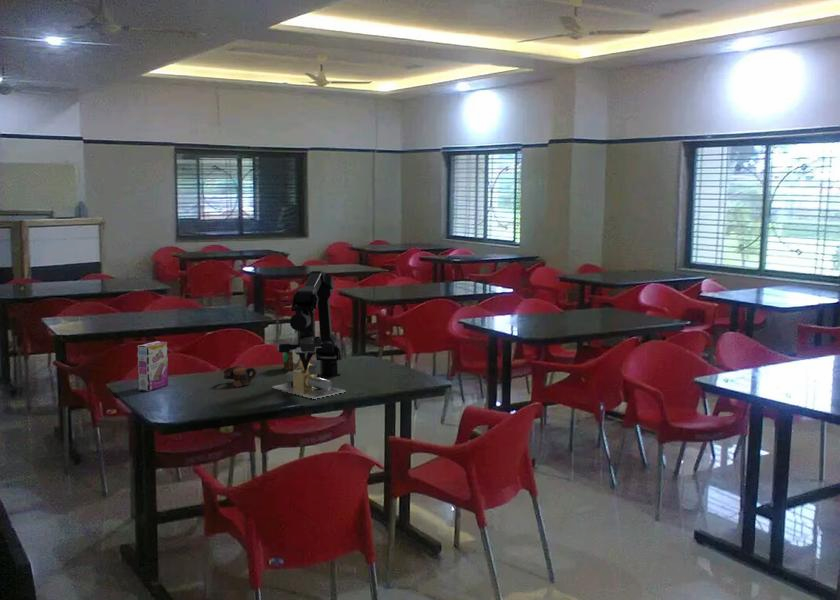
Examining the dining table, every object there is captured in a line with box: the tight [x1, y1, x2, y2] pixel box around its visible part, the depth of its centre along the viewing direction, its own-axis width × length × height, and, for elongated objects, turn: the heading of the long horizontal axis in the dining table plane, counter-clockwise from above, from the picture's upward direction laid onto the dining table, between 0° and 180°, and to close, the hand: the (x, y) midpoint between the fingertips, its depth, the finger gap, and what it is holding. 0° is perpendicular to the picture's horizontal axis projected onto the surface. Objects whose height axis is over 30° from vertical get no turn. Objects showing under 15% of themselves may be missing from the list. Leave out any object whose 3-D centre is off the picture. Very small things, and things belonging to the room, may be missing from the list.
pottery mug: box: [223, 364, 258, 388], centre depth 313 cm, size 12×10×8 cm
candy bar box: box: [136, 341, 169, 392], centre depth 307 cm, size 11×5×16 cm, turn 159°
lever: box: [299, 360, 318, 375], centre depth 298 cm, size 15×4×3 cm, turn 22°
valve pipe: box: [272, 368, 346, 400], centre depth 302 cm, size 24×14×8 cm, turn 46°
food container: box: [282, 341, 301, 372], centre depth 339 cm, size 12×6×10 cm, turn 172°
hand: (305, 371), depth 293 cm, fingers closed
